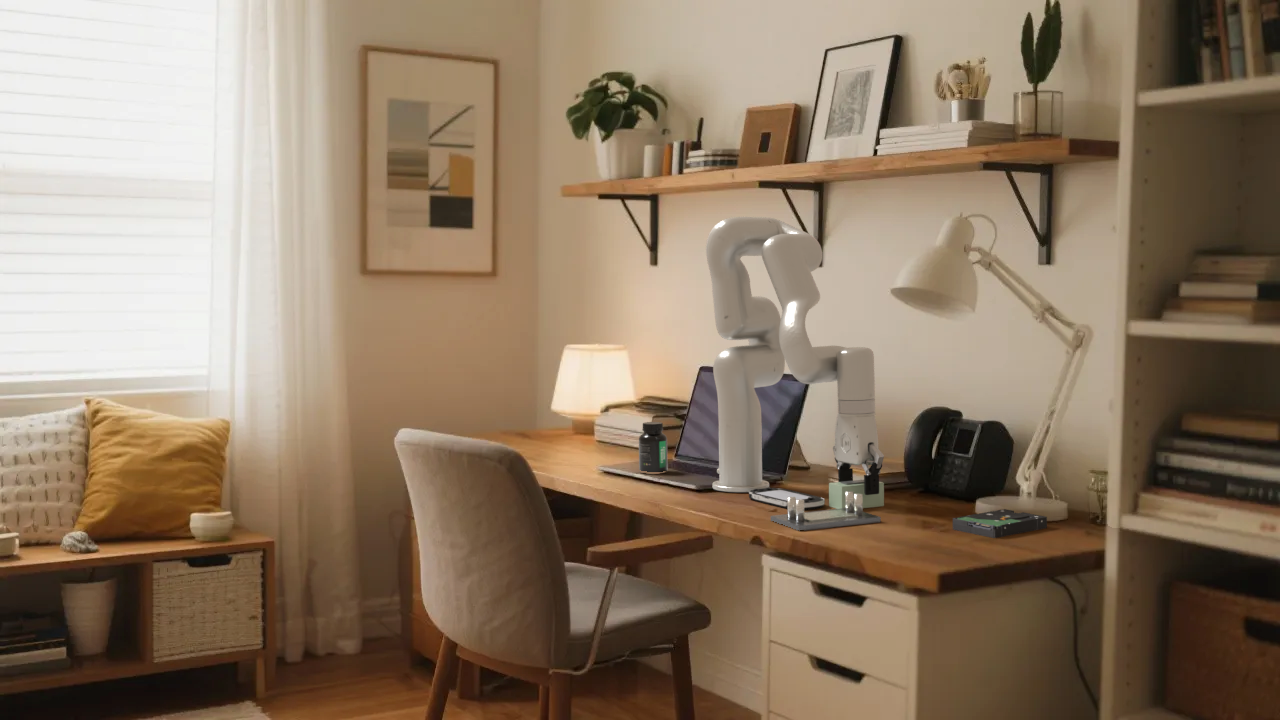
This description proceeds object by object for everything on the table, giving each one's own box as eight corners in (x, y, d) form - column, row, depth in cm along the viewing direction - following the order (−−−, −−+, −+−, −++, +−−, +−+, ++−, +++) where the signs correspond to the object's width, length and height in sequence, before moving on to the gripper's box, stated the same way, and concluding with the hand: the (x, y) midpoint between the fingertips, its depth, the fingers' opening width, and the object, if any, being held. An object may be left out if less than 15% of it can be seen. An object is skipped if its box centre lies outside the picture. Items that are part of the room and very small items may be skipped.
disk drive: (1003, 523, 258) (951, 531, 249) (1003, 508, 258) (951, 517, 249) (1048, 531, 250) (995, 540, 241) (1048, 516, 249) (995, 525, 241)
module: (829, 507, 275) (828, 481, 274) (870, 502, 279) (870, 477, 278) (841, 511, 270) (841, 485, 270) (883, 506, 274) (883, 481, 274)
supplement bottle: (670, 473, 319) (669, 424, 318) (642, 475, 318) (641, 425, 317) (664, 469, 326) (663, 420, 325) (636, 471, 325) (635, 421, 324)
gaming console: (832, 509, 273) (832, 497, 273) (796, 514, 269) (796, 501, 269) (775, 496, 290) (775, 484, 290) (741, 500, 285) (741, 488, 285)
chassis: (770, 520, 260) (770, 495, 260) (849, 512, 267) (849, 487, 267) (799, 531, 250) (798, 504, 250) (880, 522, 257) (880, 496, 257)
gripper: (818, 406, 279) (820, 487, 280) (864, 412, 263) (866, 498, 264) (849, 403, 282) (851, 484, 283) (896, 409, 266) (898, 495, 267)
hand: (858, 491), depth 274 cm, fingers open, 9 cm apart
